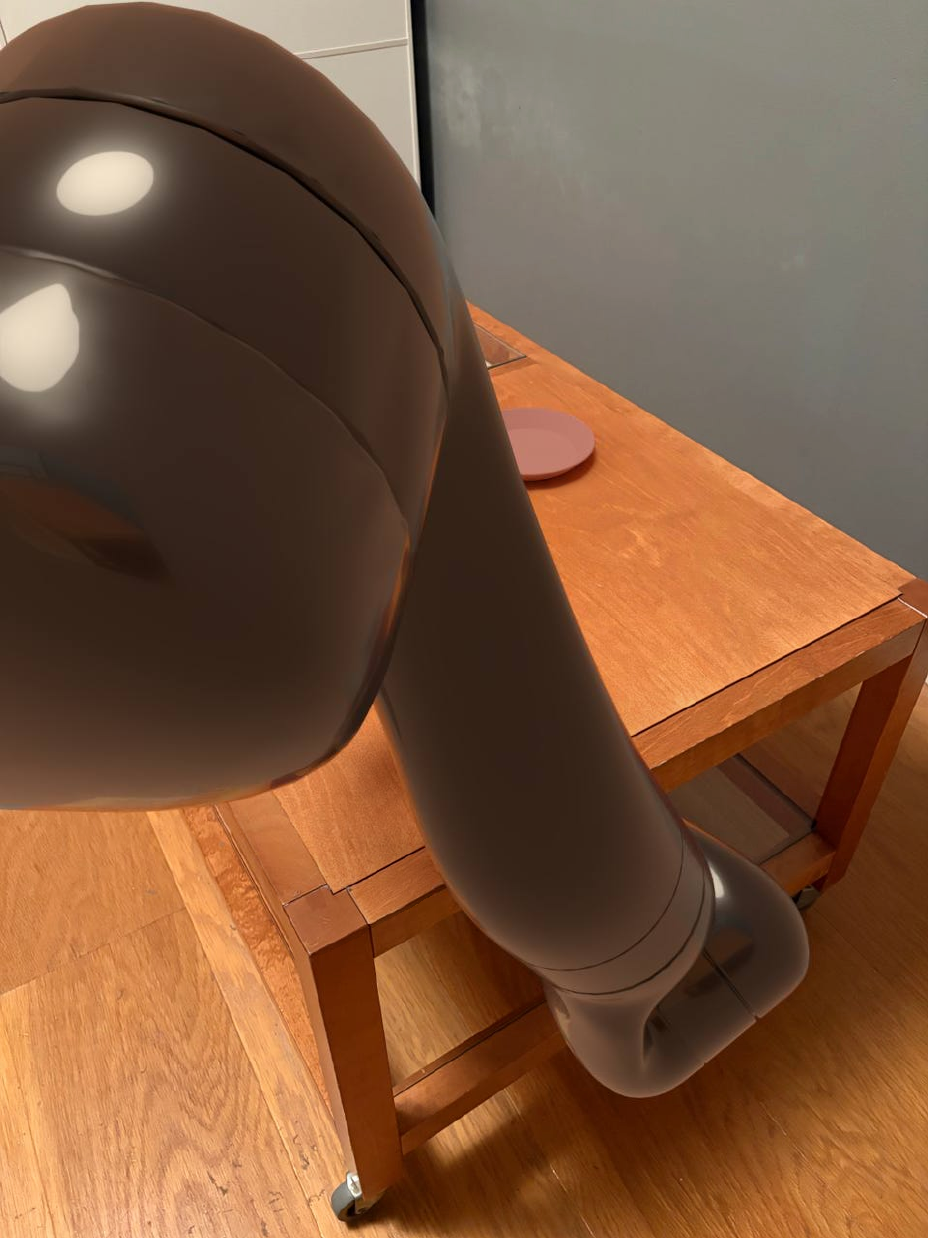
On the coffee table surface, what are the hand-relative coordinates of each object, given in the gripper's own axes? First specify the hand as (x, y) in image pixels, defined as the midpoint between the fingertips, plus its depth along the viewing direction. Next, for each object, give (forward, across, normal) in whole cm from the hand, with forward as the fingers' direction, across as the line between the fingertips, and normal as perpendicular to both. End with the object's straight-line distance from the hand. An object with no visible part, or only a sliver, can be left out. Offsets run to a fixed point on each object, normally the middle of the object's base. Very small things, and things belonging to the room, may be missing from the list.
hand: (354, 545), depth 61 cm
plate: (+30, -31, +18) cm, 46 cm away
